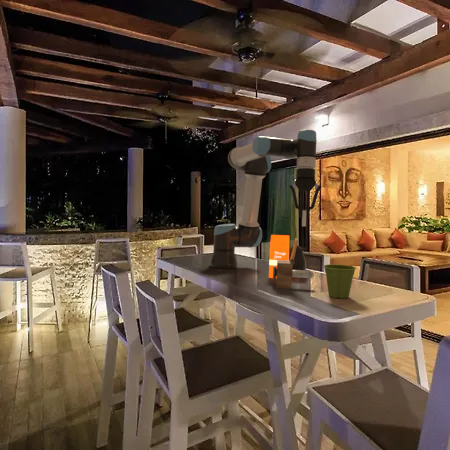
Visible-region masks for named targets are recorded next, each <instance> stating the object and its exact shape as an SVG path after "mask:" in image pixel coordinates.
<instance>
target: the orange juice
mask: <svg viewBox="0 0 450 450" xmlns="http://www.w3.org/2000/svg"><path fill="white" fill-rule="evenodd" d="M269 246H270V247H269V261H268V262H269V264H268V267H269V268H268V278H269V279H273V266H276V269H277V260H289V250H290V235H287V234H286V235H285V234H284V235H283V234H271V235H270V245H269ZM276 278H277V276H276Z"/></svg>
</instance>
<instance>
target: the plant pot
mask: <svg viewBox="0 0 450 450" xmlns="http://www.w3.org/2000/svg"><path fill="white" fill-rule="evenodd" d="M322 267H323V268H324V272H325V276H326V286H327V292H328V293H327V294H328V296H329V297H330V298H333V299H334V298H335V299H337V298H340V299H348V298H349V297H350V293H351V288H352V283H353V277H354V275H355V272H356V269H357V267H356V266H353V265H348V264H335V263H334V264H324V265H323V266H322Z"/></svg>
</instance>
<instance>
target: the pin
mask: <svg viewBox="0 0 450 450" xmlns="http://www.w3.org/2000/svg"><path fill="white" fill-rule="evenodd" d="M276 276H277V269H276V266H273V278H272V279H275V280H276ZM314 277H315V273H314V272H313V271H312V270H292V278H300V279H301V278H303V279H304V278H305V279H312V278H314Z"/></svg>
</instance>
